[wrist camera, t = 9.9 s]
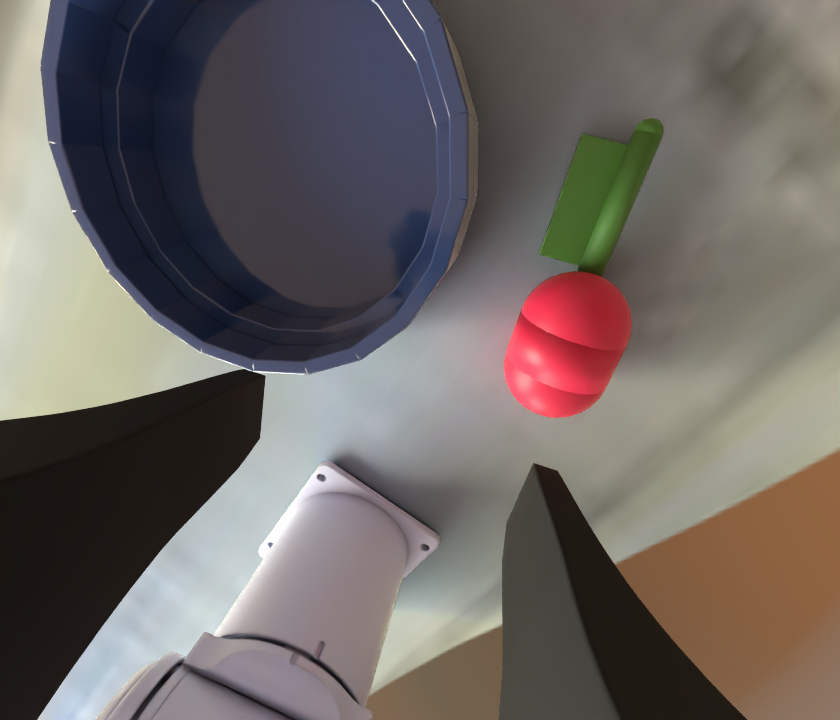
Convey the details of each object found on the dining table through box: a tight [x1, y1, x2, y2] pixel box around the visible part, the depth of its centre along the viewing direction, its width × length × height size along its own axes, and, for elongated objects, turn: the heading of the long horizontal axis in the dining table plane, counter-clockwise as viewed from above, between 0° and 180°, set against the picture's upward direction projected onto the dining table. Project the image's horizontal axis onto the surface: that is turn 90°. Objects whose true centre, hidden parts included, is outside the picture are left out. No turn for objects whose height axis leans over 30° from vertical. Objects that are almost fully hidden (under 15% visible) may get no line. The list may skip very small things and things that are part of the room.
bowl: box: [41, 0, 478, 375], centre depth 16 cm, size 15×15×4 cm
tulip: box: [504, 118, 664, 418], centre depth 16 cm, size 11×4×4 cm, turn 166°
